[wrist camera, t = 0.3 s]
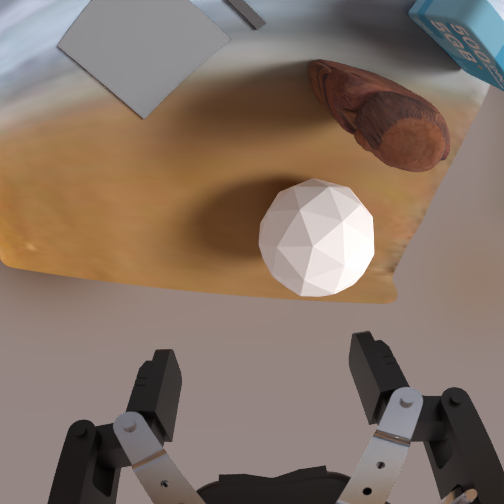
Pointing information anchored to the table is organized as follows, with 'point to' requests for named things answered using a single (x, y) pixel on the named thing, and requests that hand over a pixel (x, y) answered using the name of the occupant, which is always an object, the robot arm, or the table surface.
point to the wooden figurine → (382, 115)
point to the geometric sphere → (317, 238)
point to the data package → (466, 34)
